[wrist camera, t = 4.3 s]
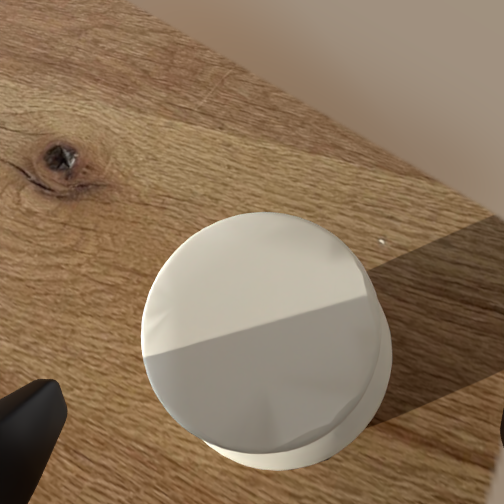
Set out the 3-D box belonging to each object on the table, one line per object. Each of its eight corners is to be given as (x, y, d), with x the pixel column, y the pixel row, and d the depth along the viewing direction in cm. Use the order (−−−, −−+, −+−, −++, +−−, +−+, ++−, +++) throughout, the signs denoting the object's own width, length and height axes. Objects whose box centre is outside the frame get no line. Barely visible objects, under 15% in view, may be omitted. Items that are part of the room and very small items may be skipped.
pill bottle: (375, 455, 15) (439, 504, 6) (224, 450, 16) (91, 485, 7) (363, 304, 18) (398, 179, 8) (230, 307, 18) (132, 198, 9)
